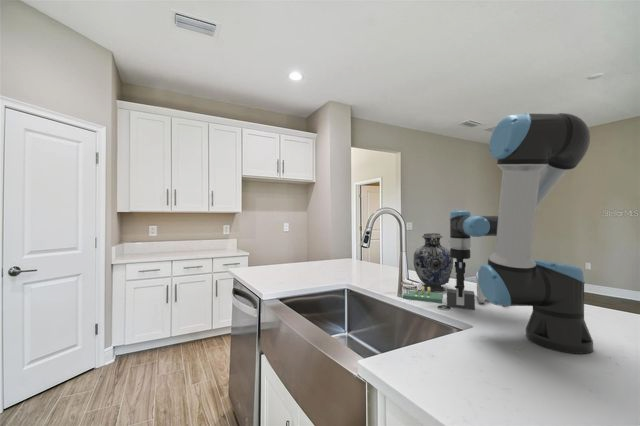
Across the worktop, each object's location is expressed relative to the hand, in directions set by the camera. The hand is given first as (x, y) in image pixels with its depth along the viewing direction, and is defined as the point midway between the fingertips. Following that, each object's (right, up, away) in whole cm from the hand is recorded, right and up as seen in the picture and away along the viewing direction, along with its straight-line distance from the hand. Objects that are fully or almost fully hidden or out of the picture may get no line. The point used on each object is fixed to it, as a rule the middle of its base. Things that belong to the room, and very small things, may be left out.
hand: (459, 300), depth 117 cm
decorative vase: (0, -3, +27) cm, 27 cm away
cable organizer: (+16, -3, +6) cm, 18 cm away
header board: (-11, -3, +11) cm, 16 cm away
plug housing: (0, -2, 0) cm, 2 cm away
